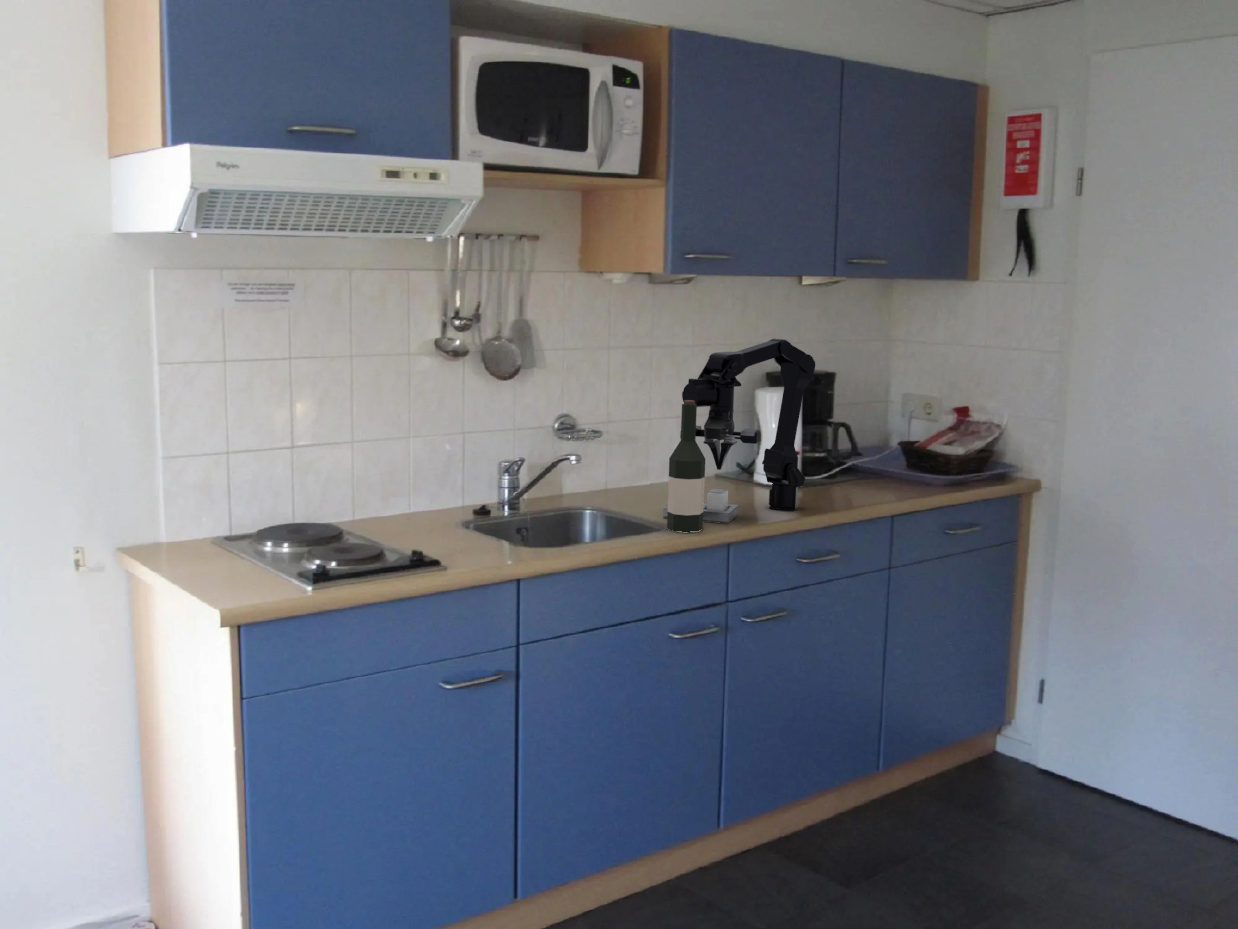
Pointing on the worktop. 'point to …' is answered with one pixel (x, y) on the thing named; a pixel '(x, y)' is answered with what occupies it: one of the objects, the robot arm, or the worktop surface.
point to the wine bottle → (686, 477)
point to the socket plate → (715, 514)
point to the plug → (717, 500)
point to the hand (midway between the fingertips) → (719, 469)
